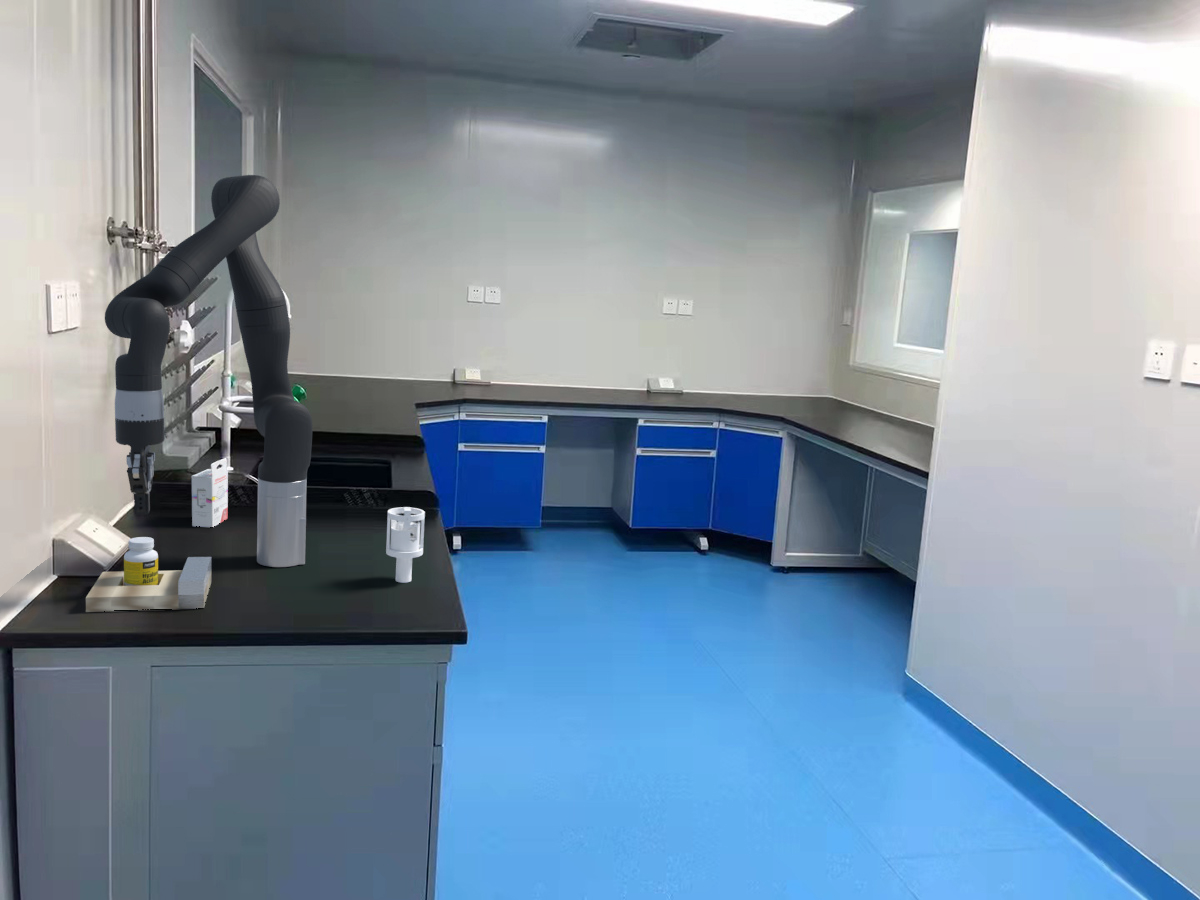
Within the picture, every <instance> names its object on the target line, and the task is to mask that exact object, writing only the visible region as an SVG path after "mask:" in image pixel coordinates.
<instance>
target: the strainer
mask: <svg viewBox="0 0 1200 900" xmlns="http://www.w3.org/2000/svg"><path fill="white" fill-rule="evenodd" d="M402 514H403V515H402ZM425 517H426V511H424V510H423V509H421V508H417V507H410V506H403V507H401V506H400V507H393V508H389V509H388V510H387V518H386V519H387V520H386V523H387V524H386V544H385V545H386V547H385V548H386V549H385V552H386V553H385V554H386V555H387V556H389V557H393V558H395V559H396V561H395V562H396V563H395V566H396V567H395V582H398V583H402V584H403V583H405V584H406V583H409V582H410V583H411V582H412V571H413V559H414V558H419V557H421V556H423V554H424V539H425V538H424V537H425ZM411 534H412V535H411Z"/></svg>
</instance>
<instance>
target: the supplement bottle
mask: <svg viewBox="0 0 1200 900" xmlns="http://www.w3.org/2000/svg"><path fill="white" fill-rule="evenodd" d="M154 543H155V540H154V538H152V537H150V536H149V537H148V536H138V537H132V538H129V539H128V546H127V547H128V549H129V550H128V551H126V552H125V553H124V556H123V571H124V586H138V585H158V571H159V554H158V551H156V550H154V547H155V544H154Z"/></svg>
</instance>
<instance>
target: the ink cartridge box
mask: <svg viewBox="0 0 1200 900" xmlns="http://www.w3.org/2000/svg"><path fill="white" fill-rule="evenodd" d="M219 465H220V466H221V467H219ZM217 467H219V468H217ZM228 472H229V470H228V459H227V457H224V458H222V459H218V460H217V461H215V462H213V463H212V462H211V464H210V468H207V469H205V470H202V471H200V472H198V473H196V474H193V475H191V517H192V519H191V521H192V522H191V526H192V527H196V526H197V527H198V528H199V526H200V528H210V527H213V528H215V527H216V526H218V525H220V524H221V523H223V522H224V520H225V521H226V520H228V517H229V516H228V513H229V512H228V508H229V506H228V503H229V498H228V497H229V492H228V491H229V489H228V488H229V483H228V482H229V481H228V480H229V473H228ZM219 523H220V524H219ZM214 526H215V527H214ZM197 527H196V528H197Z"/></svg>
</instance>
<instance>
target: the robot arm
mask: <svg viewBox="0 0 1200 900" xmlns="http://www.w3.org/2000/svg"><path fill="white" fill-rule="evenodd" d="M280 200H281V199H280V195H279V192H278V189H277V188H276V186H275V184H274V182H272V181H271V180H269V178H266V177H265V176H261V175H256V174H244V175H236V176H227V177H223V178H221V179H219V180H218V181H216V183H215V184H214V186H213V187H212V190H211V197H210V201H211V209H212V213H213V217H214V219H213V220H212V221H211V222H209V223H208V224H207V225H206V226H203V228H201V229H200V230H198V231H196V232H195V233H194V234H192V235H190V236H189V237H186V238H185V239H184V240H183V241H181V242H180V243H178V244H177V245H176V246H174V247H173V248H172V249H171V250H169V252H167V254H165V256H164V257H163V258H162V259H161V260H160V261H159V262H157V264H156V265H155V266H154V267H152V269H151V270H150V272H149V273H147V274H146V275H145V276H143V277H141V278H139V279H138V280H136V281H135V282H133V283H132V284H130V285H129V286H127V287H126V288H124V289H123V290H121V292H119V293H117V295H115V296H114V298H112V299H111V301H110V302H109V303H108V305H107V307H106V309H105V312H104V323H105V326H106V327H107V329H108V330H109V331H110V332H111V333H112V334H113V335H115V336H116V337H119V338H124V339H129V344H128V345H129V346H128V349H127V350H128V351H127V353H123V354H120V355H119V356H118V357H117V358H116V361H115V364H114V365H115V367H114V372H115V397H114V427H115V428H114V429H115V442H116V443H117V444H119V445H123V446H129V447H130V452H129V453H128V454H126V465H127V466H128V467H127V470H126V473H127V478H128V482H129V489H130V492H131V493H132V494H133V501H134V504H133V505H134V514H135V515H136V516H146V515H149V513H150V511H151V504H150V503H151V501H150V500H151V499H150V496H151V495H150V492H151V490H152V485H153V483H154V482H153V477H154V475H155V474H154V462H155V461H156V453H155V451H152V449H151V448H152V447H151V446H156V445H159V444H163V443H164V441H165V407H164V405H165V403H164V397H163V384H162V383H163V382H162V381H163V380H162V379H163V378H162V362H163V360H164V357H165V353H166V348H167V345H168V344H167V343H168V339H169V335H170V331H171V330H170V329H171V323H170V316H169V314H168V312H167V309H166V308H167V307H172V306H178V305H181V304H182V303H183V302H184V301H185V300H186V299H187V298H188V297H189V296H190V295H191V294H192V293H193V291H194V290H195V289H196V288H197V287H198V286H199V285H200V284H201V283H202V282H203V281H204V280H205V278H206V277H207V276H208V275H209V274H211V272H213V270H214V269H215V268H216V267H217V266H218V265H219V264H220V263H221V262H222V261H223V260H224V259H226V263H227V269H228V273H229V274H228V275H229V278H230V282H231V287H232V293H233V298H234V304H235V305H234V306H235V310H236V317H237V323H238V327H239V332H240V335H241V340H242V341H241V342H242V345H243V346H242V347H243V350H244V354H245V359H246V362H247V366H248V371H249V376H250V382H251V383H250V385H251V392H252V393H251V394H252V408H253V411H252V412H253V419H254V425H255V427H256V430H257V431H258V432H259V434H260V435H261V437H263V438H264V447H263V448H264V449H263V450H264V451H263V458H262V461H261V462H260V463H259V464H258V467H257V468H258V469H257V517H256V518H257V525H256V526H257V528H256V529H257V530H256V531H257V532H256V534H257V535H256V536H257V537H256V562H257V563H258V564H259V565H262V566H264V567H265V566H266V567H269V568H270V567H272V568H287V567H295V566H298V565H300V566H301V565H305V564H306V540H307V539H306V534H307V532H306V531H307V530H306V529H307V528H306V527H307V483H308V482H307V479H308V469H309V467H310V466H311V465H310V464H311V459H312V447H313V445H312V444H313V419H312V415H311V413H310V411H309V409H308V408H307V407H306V406H305V405H304V404H302V403H301V402H299V401H298V400H297V401H296V400H295V398H294V394H293V391H292V386H291V381H290V378H289V377H290V376H289V372H288V371H289V370H288V360H289V359H288V358H289V351H290V350H289V349H290V342H291V327H290V326H291V324H290V316H289V311H288V305H287V300H286V298H285V294H284V291H283V289H282V287H281V285H280V283H279V282H278V280H277V279H276V276H274V274H273V273H272V270H271V269H270V268H269V266H268V265H267V263H266V261H265V259H264V257H263V256H262V253H261V249H260V246H259V242H258V237H257V232H258V231H260V230H262V229H263V228H264V227H265V226H266V225H269V224H270V222H271V221H273V220H274V219H275V217H276V216H277V214H278V212H279V209H280V204H281V203H280V202H281V201H280Z"/></svg>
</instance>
